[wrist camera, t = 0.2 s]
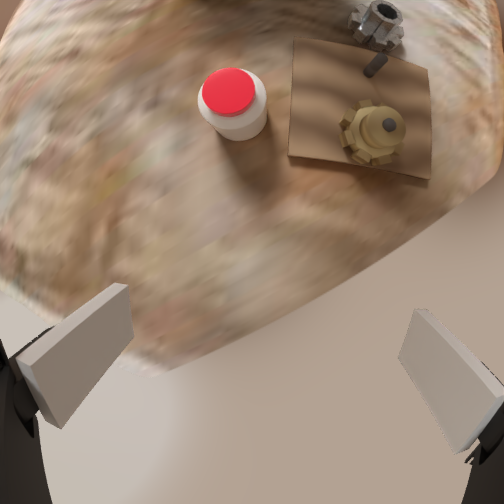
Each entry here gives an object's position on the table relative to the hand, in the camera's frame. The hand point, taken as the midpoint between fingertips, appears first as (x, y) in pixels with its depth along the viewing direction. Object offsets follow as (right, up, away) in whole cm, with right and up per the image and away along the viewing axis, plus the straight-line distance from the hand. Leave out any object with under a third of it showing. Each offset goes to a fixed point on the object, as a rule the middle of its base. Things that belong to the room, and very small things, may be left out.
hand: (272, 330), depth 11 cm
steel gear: (+19, +39, +18) cm, 47 cm away
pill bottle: (-3, +22, +24) cm, 33 cm away
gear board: (+16, +25, +22) cm, 36 cm away
